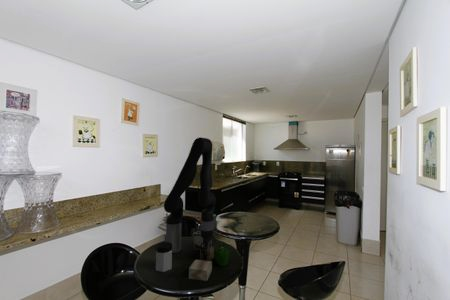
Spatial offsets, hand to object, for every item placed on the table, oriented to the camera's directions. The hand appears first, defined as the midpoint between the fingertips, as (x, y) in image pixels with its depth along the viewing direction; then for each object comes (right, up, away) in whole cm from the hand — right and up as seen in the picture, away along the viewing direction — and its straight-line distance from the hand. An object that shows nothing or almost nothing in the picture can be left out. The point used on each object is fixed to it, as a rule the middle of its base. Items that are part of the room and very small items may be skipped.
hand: (207, 257), depth 123 cm
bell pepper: (+9, -1, -6) cm, 10 cm away
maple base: (-2, -1, -16) cm, 16 cm away
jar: (-22, -1, -10) cm, 24 cm away
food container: (-4, -1, +15) cm, 15 cm away
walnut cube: (0, -1, 0) cm, 1 cm away
